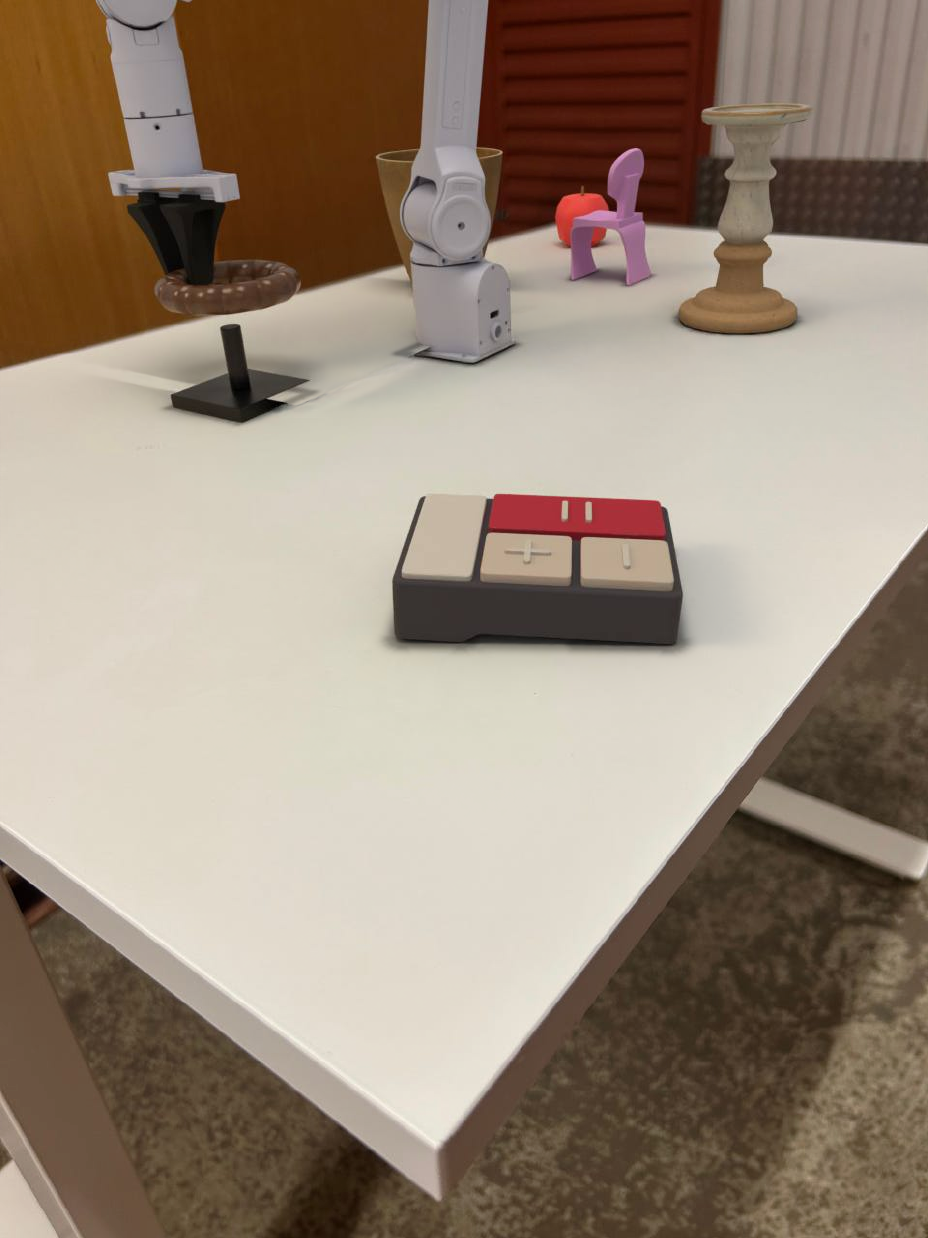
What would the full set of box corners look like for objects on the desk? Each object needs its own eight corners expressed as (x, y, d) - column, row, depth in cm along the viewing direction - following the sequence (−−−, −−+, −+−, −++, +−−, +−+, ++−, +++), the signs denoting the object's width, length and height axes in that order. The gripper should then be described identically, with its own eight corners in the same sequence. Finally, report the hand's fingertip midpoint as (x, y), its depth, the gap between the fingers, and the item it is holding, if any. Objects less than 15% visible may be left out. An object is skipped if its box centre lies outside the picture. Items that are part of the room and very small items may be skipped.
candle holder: (667, 331, 100) (680, 114, 90) (689, 302, 110) (703, 103, 99) (789, 337, 96) (818, 111, 86) (801, 307, 106) (828, 100, 95)
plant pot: (419, 313, 112) (408, 163, 104) (370, 291, 124) (356, 154, 115) (528, 294, 118) (526, 150, 109) (471, 274, 129) (465, 142, 121)
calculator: (686, 583, 48) (389, 569, 49) (676, 655, 50) (392, 639, 51) (668, 493, 57) (419, 483, 58) (660, 557, 59) (421, 545, 61)
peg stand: (312, 392, 89) (302, 319, 86) (241, 422, 83) (227, 345, 79) (244, 379, 94) (232, 309, 90) (172, 407, 88) (156, 333, 84)
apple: (552, 250, 140) (552, 191, 136) (557, 240, 147) (557, 183, 143) (607, 249, 139) (609, 189, 134) (609, 238, 145) (611, 181, 141)
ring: (329, 291, 86) (325, 263, 85) (227, 324, 78) (222, 294, 77) (233, 279, 93) (229, 253, 91) (129, 309, 84) (123, 280, 83)
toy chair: (595, 268, 128) (597, 143, 120) (655, 273, 124) (662, 144, 116) (563, 281, 123) (564, 151, 115) (625, 287, 118) (629, 152, 110)
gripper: (65, 120, 81) (104, 285, 88) (179, 119, 74) (212, 300, 81) (132, 112, 86) (165, 270, 93) (245, 111, 79) (271, 282, 86)
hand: (190, 283), depth 87 cm, fingers closed on ring, 2 cm apart
